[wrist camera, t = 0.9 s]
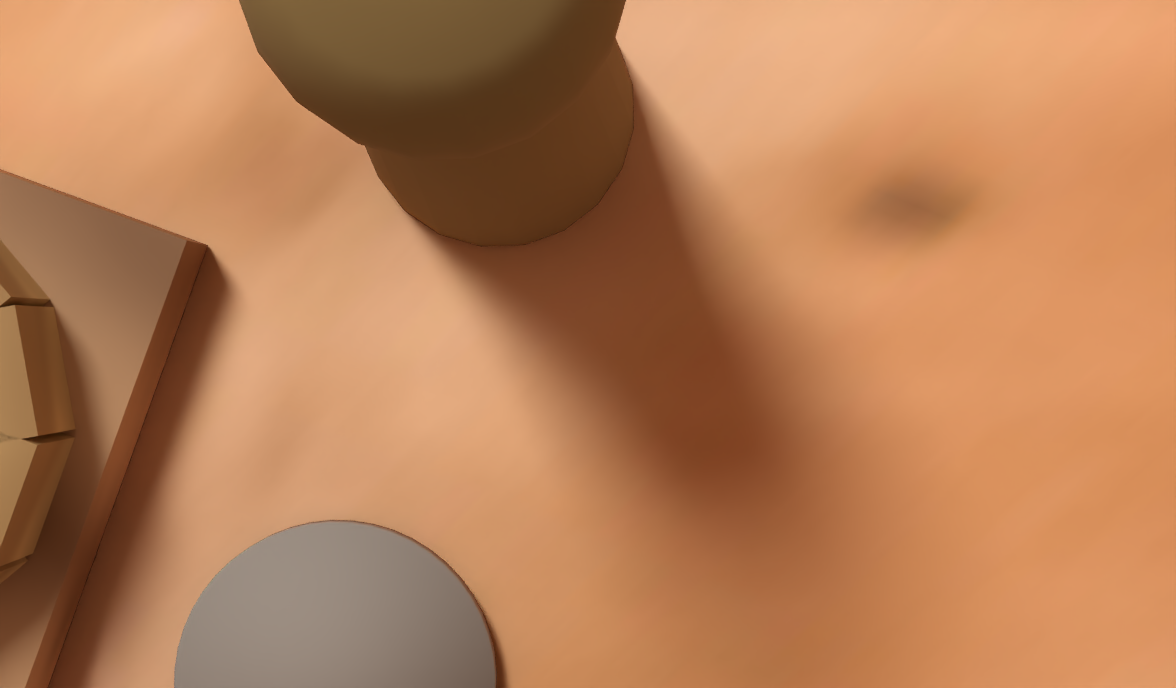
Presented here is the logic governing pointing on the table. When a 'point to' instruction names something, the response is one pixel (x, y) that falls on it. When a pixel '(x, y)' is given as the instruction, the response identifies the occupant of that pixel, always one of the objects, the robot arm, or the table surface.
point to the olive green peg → (465, 102)
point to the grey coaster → (336, 616)
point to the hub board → (71, 395)
